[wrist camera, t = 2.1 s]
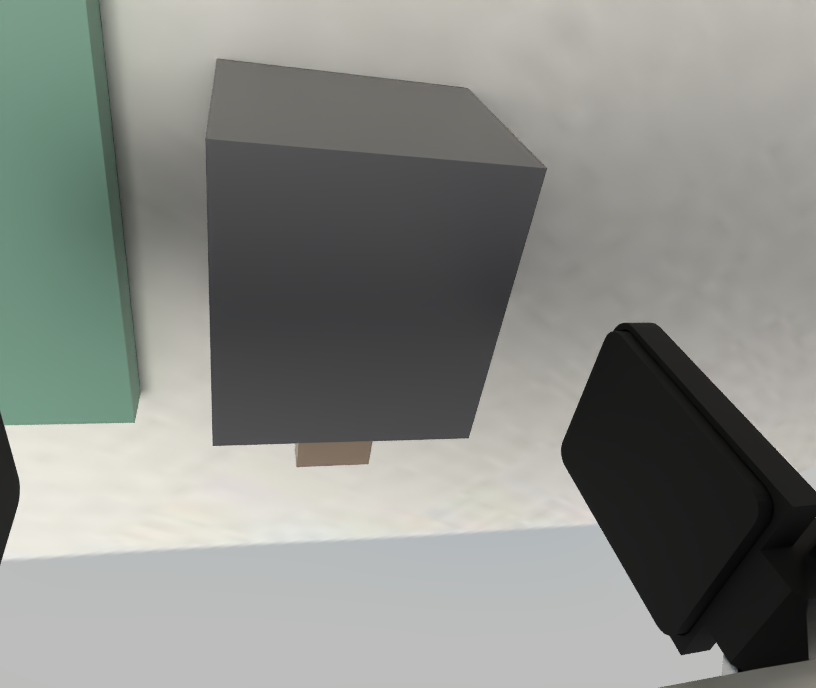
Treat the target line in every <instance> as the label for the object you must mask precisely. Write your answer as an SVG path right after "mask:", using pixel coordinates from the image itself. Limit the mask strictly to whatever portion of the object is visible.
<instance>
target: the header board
mask: <svg viewBox="0 0 816 688" xmlns="http://www.w3.org/2000/svg"><path fill="white" fill-rule="evenodd" d="M139 398H140V386H139V376H138V367H137V358H136V348H135V339H134V329H133V320H132V310H131V301H130V292H129V282H128V273H127V263H126V254H125V245H124V235H123V226H122V216H121V207H120V197H119V188H118V179H117V169H116V160H115V150H114V141H113V132H112V122H111V113H110V103H109V94H108V84H107V75H106V66H105V56H104V47H103V37H102V28H101V19H100V9H99V0H0V412H1V416H2V420H3V423H4V425H39V424H88V423H135V418H136V413H137V408H138V403H139Z"/></svg>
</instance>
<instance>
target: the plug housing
mask: <svg viewBox="0 0 816 688" xmlns="http://www.w3.org/2000/svg"><path fill="white" fill-rule="evenodd" d="M546 170H547V168H546V167H545V166H544V165H543V164H542V163H541V162H540V161H539V160H538V159H537V158H536V157H535V156H534V155H533V154H532V153H531V152H530V151H529V150H528V149H527V148H526V147H525V146H524V145H523V144H522V143H521V142H520V141H519V140H518V139H517V138H516V137H515V136H514V135H513V134H512V133H511V132H510V131H509V130H508V129H507V128H506V127H505V126H504V125H503V124H502V123H501V122H500V121H499V120H498V119H497V118H496V117H495V115H494V114H493V113H492V112H491V111H490V110H489V109H488V108H487V107H486V106H485V105H484V104H483V103H482V102H481V101H480V100H479V99H478V98H477V97H476V96H475V95H474V94H473V93H472V92H471V91H470V90H469V89H468V88H461V87H452V86H444V85H435V84H427V83H418V82H410V81H401V80H393V79H384V78H376V77H367V76H359V75H350V74H342V73H333V72H325V71H316V70H308V69H299V68H290V67H282V66H273V65H265V64H256V63H248V62H239V61H231V60H222V59H217V62H216V69H215V76H214V83H213V90H212V97H211V104H210V111H209V118H208V125H207V132H206V177H207V220H208V262H209V305H210V348H211V391H212V433H213V446H225V445H258V444H291V443H296V444H295V454H296V466H297V467H308V466H333V465H359V464H368V463H369V458H370V452H371V446H372V441H391V440H424V439H457V438H469V435H470V432H471V428H472V425H473V421H474V418H475V414H476V411H477V407H478V404H479V401H480V397H481V394H482V390H483V387H484V383H485V380H486V376H487V373H488V370H489V366H490V363H491V359H492V356H493V352H494V349H495V345H496V342H497V339H498V335H499V332H500V328H501V325H502V321H503V318H504V314H505V311H506V308H507V304H508V301H509V297H510V294H511V290H512V287H513V283H514V280H515V277H516V273H517V270H518V266H519V263H520V259H521V256H522V252H523V249H524V246H525V242H526V239H527V235H528V232H529V228H530V225H531V221H532V218H533V215H534V211H535V208H536V204H537V201H538V197H539V194H540V190H541V187H542V184H543V180H544V177H545V173H546Z"/></svg>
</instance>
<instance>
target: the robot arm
mask: <svg viewBox="0 0 816 688" xmlns="http://www.w3.org/2000/svg"><path fill="white" fill-rule="evenodd" d="M561 456H562V460H563V463H564V465H565V467H566V469H567V470H568V472H569V474H570V476H571V477H572V479H573V481H574V482H575V484H576V486H577V488H578V489H579V491H580V493H581V495H582V496H583V498H584V500H585V502H586V503H587V505H588V507H589V508H590V510H591V512H592V514H593V515H594V517H595V519H596V521H597V522H598V524H599V526H600V528H601V529H602V531H603V532H604V534H605V536H606V538H607V540H608V541H609V543H610V545H611V546H612V548H613V550H614V552H615V553H616V555H617V557H618V559H619V560H620V562H621V564H622V566H623V567H624V569H625V571H626V573H627V574H628V576H629V578H630V580H631V581H632V583H633V585H634V586H635V588H636V590H637V592H638V593H639V595H640V597H641V599H642V600H643V602H644V604H645V605H646V607H647V609H648V611H649V612H650V614H651V616H652V618H653V619H654V621H655V623H656V625H657V626H658V627H659V629H660V630H661V631H662V632H663V633H664V634H666V635H669V636H670V637H671V639H672V640H673V642H674V644H675V646H676V647H677V649H678V651H679V652H680V654H681V655H685V654H690V653H696V652H701V651H707V650H710V649H711V648H712V647H713V645H714V644H715V643H716V642H717V644H718V646H719V647H720V649H721V650H722V652H723V653H724V655H723V667H722V676H719V677H713V678H708V679H703V680H697V681H692V682H687V683H681V684H676V685H671V686H666V687H660V688H816V491H815V490H814V489H813V488H812V487H811V486H810V485H809V484H808V483H807V482H806V481H805V480H804V479H803V478H802V477H801V475H800V474H799V473H798V472H797V471H796V470H795V469H794V468H793V467H792V466H791V465H790V464H789V463H788V462H787V461H786V460H785V458H784V457H783V456H782V455H781V454H780V453H779V452H778V451H777V450H776V449H775V448H774V447H773V446H772V445H771V444H770V443H769V442H768V441H767V439H766V438H765V437H764V436H763V435H762V434H761V433H760V432H759V431H758V430H757V429H756V428H755V427H754V426H753V425H752V424H751V423H750V422H749V420H748V419H747V418H746V417H745V416H744V415H743V414H742V413H741V412H740V411H739V410H738V409H737V408H736V407H735V406H734V405H733V404H732V403H731V401H730V400H729V399H728V398H727V397H726V396H725V395H724V394H723V393H722V392H721V391H720V390H719V389H718V388H717V387H716V386H715V385H714V384H713V383H712V381H711V380H710V379H709V378H708V377H707V376H706V375H705V374H704V373H703V372H702V371H701V370H700V369H699V368H698V367H697V366H696V365H695V364H694V362H693V361H692V360H691V359H690V358H689V357H688V356H687V355H686V354H685V353H684V352H683V351H682V350H681V349H680V348H679V347H678V346H677V345H676V343H675V342H674V341H673V340H672V339H671V338H670V337H669V336H668V335H667V334H666V333H665V332H664V331H663V330H662V329H661V328H660V327H659V326H658V325H656V324H654V323H622V324H619V325H618V326H617V327H616V328H615V329H614V331H613V332H610V333H609V334H608V335H607V336H606V338H605V340H604V342H603V345H602V347H601V350H600V352H599V354H598V357H597V359H596V362H595V364H594V367H593V369H592V372H591V374H590V376H589V379H588V381H587V384H586V386H585V389H584V391H583V394H582V396H581V398H580V401H579V403H578V406H577V408H576V411H575V413H574V415H573V418H572V420H571V423H570V425H569V428H568V430H567V433H566V435H565V437H564V440H563V442H562V446H561ZM19 495H20V485H19V478H18V474H17V470H16V467H15V463H14V459H13V456H12V452H11V448H10V445H9V441H8V438H7V434H6V430H5V427H4V423H3V420H2V416H1V412H0V564H1V560H2V557H3V554H4V550H5V547H6V543H7V540H8V537H9V533H10V530H11V527H12V523H13V520H14V517H15V513H16V510H17V507H18V502H19Z"/></svg>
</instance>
